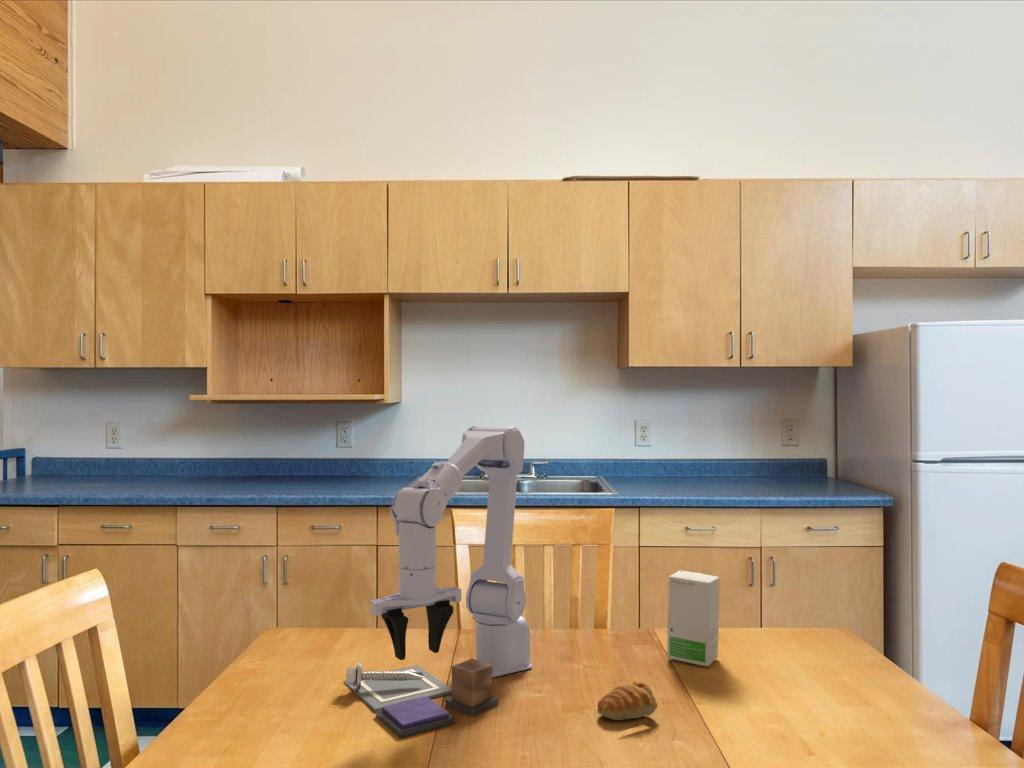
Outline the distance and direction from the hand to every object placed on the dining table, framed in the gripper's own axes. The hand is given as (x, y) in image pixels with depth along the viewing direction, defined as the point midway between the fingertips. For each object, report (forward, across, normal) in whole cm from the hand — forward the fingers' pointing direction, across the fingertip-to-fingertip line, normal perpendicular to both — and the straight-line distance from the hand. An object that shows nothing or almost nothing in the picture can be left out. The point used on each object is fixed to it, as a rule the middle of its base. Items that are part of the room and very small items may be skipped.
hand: (417, 654), depth 118 cm
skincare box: (+10, -56, +4) cm, 57 cm away
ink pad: (+10, 0, 0) cm, 10 cm away
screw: (+10, 0, -13) cm, 16 cm away
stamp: (+10, -10, 0) cm, 14 cm away
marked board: (+10, -3, -13) cm, 17 cm away
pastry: (+11, -26, +14) cm, 32 cm away
